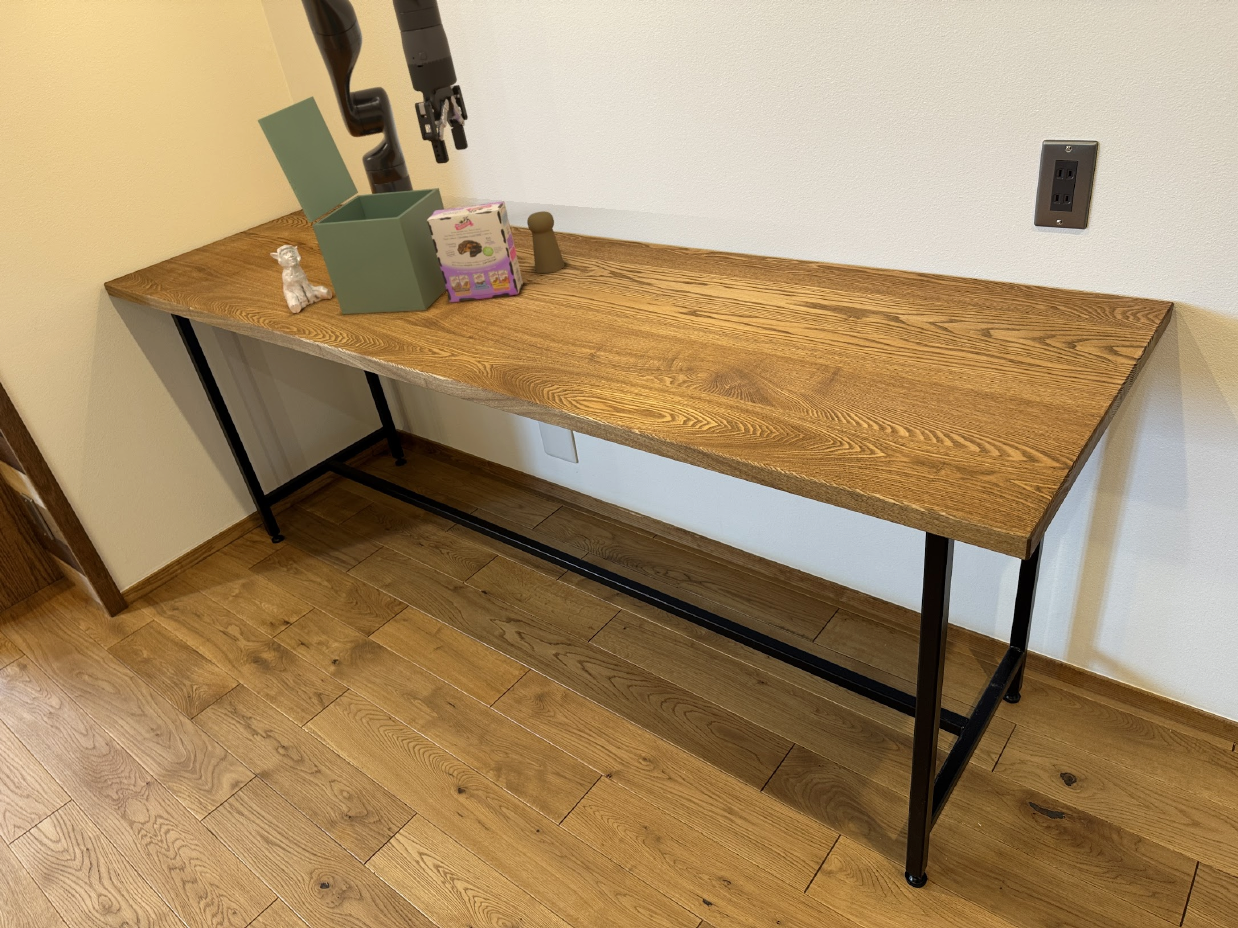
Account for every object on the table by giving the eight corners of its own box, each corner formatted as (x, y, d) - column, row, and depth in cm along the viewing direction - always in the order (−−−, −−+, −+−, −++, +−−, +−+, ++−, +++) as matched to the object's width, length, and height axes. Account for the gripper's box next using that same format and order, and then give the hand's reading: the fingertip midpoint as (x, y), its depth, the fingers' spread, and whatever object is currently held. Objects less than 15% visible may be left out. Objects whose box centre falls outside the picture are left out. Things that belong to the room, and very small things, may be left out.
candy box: (524, 283, 172) (505, 199, 163) (518, 295, 167) (499, 209, 159) (456, 291, 174) (434, 208, 166) (448, 303, 170) (425, 218, 161)
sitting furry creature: (294, 315, 177) (272, 257, 171) (273, 308, 183) (251, 252, 176) (334, 297, 183) (315, 240, 176) (313, 291, 188) (293, 236, 182)
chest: (461, 274, 182) (438, 188, 173) (425, 310, 168) (398, 218, 159) (383, 279, 188) (357, 195, 178) (342, 314, 174) (311, 225, 164)
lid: (313, 96, 169) (291, 104, 171) (260, 118, 155) (238, 127, 157) (358, 192, 178) (337, 199, 180) (312, 222, 164) (290, 228, 166)
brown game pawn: (569, 261, 179) (558, 207, 173) (558, 273, 174) (547, 218, 169) (542, 262, 181) (531, 208, 175) (530, 273, 177) (518, 219, 171)
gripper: (426, 52, 155) (449, 147, 164) (389, 68, 144) (416, 169, 153) (465, 46, 153) (487, 143, 162) (431, 62, 142) (456, 165, 150)
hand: (452, 155), depth 157 cm, fingers open, 8 cm apart
